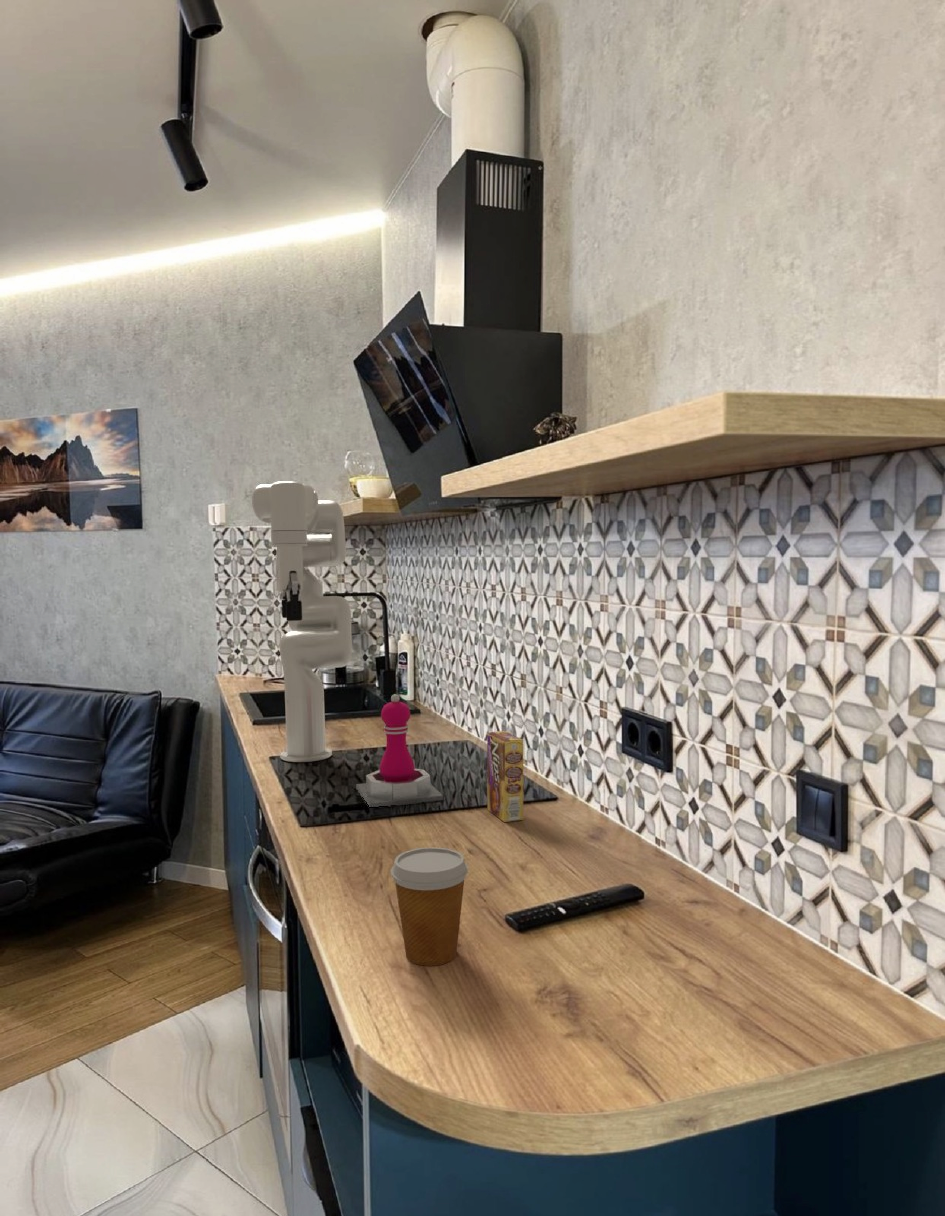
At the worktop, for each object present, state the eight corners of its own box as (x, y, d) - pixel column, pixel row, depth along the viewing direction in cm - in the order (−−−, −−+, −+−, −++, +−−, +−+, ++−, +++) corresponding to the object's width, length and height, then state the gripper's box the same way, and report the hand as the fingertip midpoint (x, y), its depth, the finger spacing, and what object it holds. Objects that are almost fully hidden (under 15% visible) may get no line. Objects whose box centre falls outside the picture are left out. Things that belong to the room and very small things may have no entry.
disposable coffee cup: (485, 953, 104) (483, 858, 103) (427, 981, 97) (425, 880, 96) (434, 929, 111) (432, 840, 110) (377, 954, 104) (374, 860, 103)
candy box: (525, 820, 156) (524, 739, 155) (504, 823, 154) (502, 741, 153) (507, 807, 164) (506, 730, 163) (486, 809, 162) (485, 732, 161)
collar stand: (356, 788, 179) (355, 770, 179) (424, 781, 183) (423, 763, 183) (369, 808, 165) (369, 788, 164) (443, 800, 169) (442, 780, 169)
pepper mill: (417, 785, 177) (415, 691, 176) (411, 794, 170) (409, 697, 169) (384, 784, 178) (381, 691, 177) (376, 794, 171) (374, 697, 169)
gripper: (268, 540, 187) (270, 617, 188) (275, 538, 171) (277, 622, 172) (302, 540, 189) (304, 615, 190) (312, 538, 173) (314, 621, 174)
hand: (291, 619), depth 181 cm, fingers open, 9 cm apart
